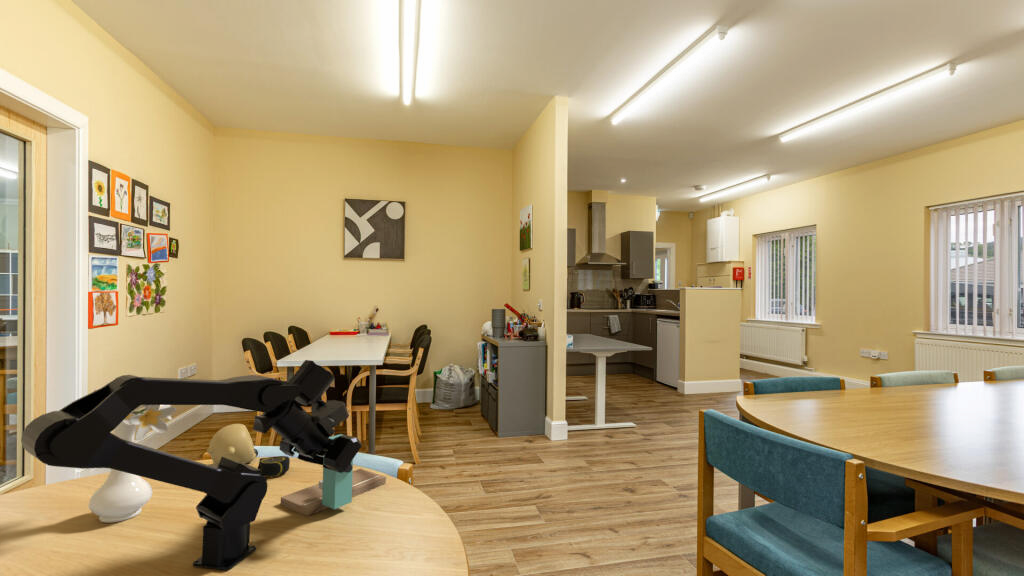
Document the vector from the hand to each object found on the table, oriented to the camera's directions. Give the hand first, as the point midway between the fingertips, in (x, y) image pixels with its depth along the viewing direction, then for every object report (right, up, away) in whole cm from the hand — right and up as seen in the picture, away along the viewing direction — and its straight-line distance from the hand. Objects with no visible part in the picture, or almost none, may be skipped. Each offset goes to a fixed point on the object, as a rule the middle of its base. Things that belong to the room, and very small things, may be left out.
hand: (343, 468), depth 93 cm
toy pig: (-36, -8, +21) cm, 43 cm away
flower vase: (-40, -7, -5) cm, 41 cm away
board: (-4, -8, +7) cm, 11 cm away
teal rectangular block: (-2, -7, -1) cm, 7 cm away
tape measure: (-24, -9, +18) cm, 31 cm away
